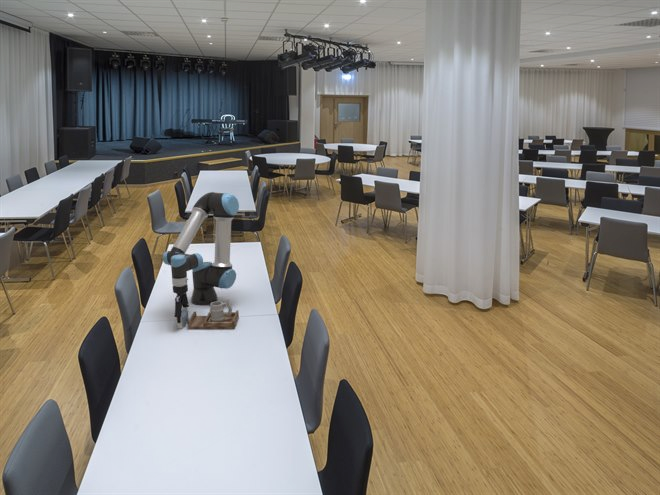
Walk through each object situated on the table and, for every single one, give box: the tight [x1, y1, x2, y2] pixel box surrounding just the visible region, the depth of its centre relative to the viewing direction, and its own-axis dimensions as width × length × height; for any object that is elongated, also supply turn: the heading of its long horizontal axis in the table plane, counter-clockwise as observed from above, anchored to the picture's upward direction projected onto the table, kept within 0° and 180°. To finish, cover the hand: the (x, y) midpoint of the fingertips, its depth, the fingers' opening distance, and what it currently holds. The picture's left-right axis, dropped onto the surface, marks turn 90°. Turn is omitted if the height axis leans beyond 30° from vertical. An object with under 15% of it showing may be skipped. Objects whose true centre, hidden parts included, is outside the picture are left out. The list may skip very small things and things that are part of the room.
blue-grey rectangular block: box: [175, 309, 190, 328], centre depth 290 cm, size 9×4×6 cm, turn 1°
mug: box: [209, 297, 233, 322], centre depth 290 cm, size 8×12×12 cm, turn 110°
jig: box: [187, 310, 240, 330], centre depth 290 cm, size 24×15×4 cm, turn 91°
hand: (182, 323), depth 291 cm, fingers open, 12 cm apart
